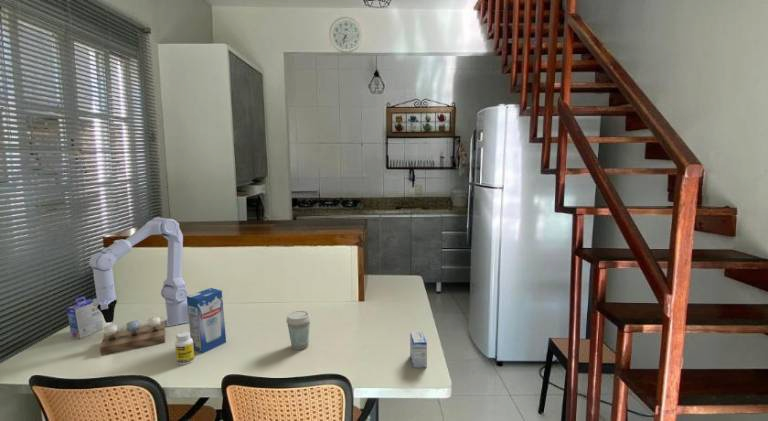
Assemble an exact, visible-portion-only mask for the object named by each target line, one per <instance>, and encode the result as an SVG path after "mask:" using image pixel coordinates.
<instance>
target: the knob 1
mask: <svg viewBox="0 0 768 421" xmlns="http://www.w3.org/2000/svg"><path fill="white" fill-rule="evenodd" d="M103 331H104V335H107V336H109V337H110V339H113V338H114V334H116V333H117V332H119V330H118V325H117V324H109V325H106V326H103Z"/></svg>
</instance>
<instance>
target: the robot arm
mask: <svg viewBox="0 0 768 421" xmlns="http://www.w3.org/2000/svg"><path fill="white" fill-rule="evenodd" d="M152 235H153V236H154V235H160V236H162V237H164V239H166V240H167V264H166V266H167V267H166V279H165V280H164V281H163V285H162V288H161V290H160V295H161V297H162V298H164V302H165V309H166V327H173V326H176V325H177V326H178V325H182V324H189V315H188V306H187V297H186V296H189V294H188V293H189V292H188V289H187V283H186V282H185V281H184V279H183V277H182V276H183V250H184V247H183V246H184V244H183V243H184V234H183V233H182V230H181V228H180V223H179V222H178V221H176V220H175V219H173V218H166V217H159V216H157V217H153V218H152V219H151V220H148V221H147V222H146V223H145V224H144V225H143V226H142V227H140V228H139V229H138V230H136V231H135V232H134V233H132V234H131V235H129V236H128V237H126V239H123V238H122V239H116V240H114V241H113V243H112V244H110V245H109V246H108V247H106V248H103V249H101V252H96V253H93V254H92V255H91V256H90V259H89V261H88V265H89V266H90V267H91V268H92V272H93V281H94V287H95V288H94V289H95V295H96V296H95V297H96V298H93V302H98V303H99V305H98V306H97V308H98V309H99V310H100V311H101V316H102V318H103V319H104V321H105V323H106V324H108V323H113V322H114V318H115V308H116V306H117V303H118V300H117V298H118V297H117V294H116V293H117V292H116V286H115V280H114V272H113V267H114V266H115V263H116V262H117V261H119V260H121V259H122V258H124V257H125V256H126V255H127V254H129V253H130V252H131V251H132V247H134V246H136V245H137V244H139V243H140V242H142V241H143V240H145V239H147V238H148V237H150V236H152Z"/></svg>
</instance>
